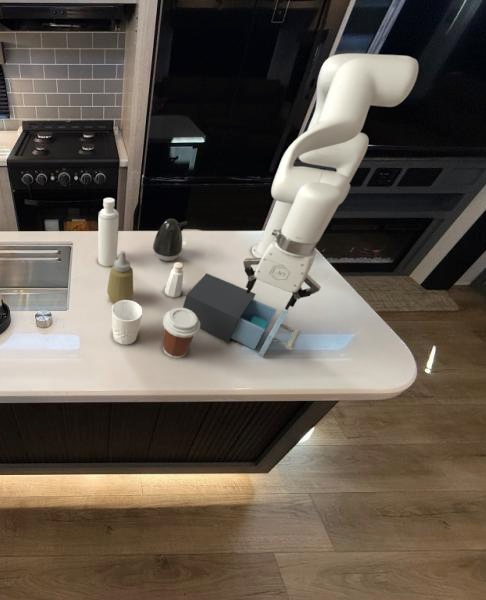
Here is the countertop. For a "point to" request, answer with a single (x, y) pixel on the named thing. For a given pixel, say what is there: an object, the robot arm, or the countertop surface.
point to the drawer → (253, 333)
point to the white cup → (126, 321)
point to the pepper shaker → (175, 281)
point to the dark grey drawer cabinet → (217, 305)
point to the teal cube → (259, 322)
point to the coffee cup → (179, 331)
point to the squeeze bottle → (120, 280)
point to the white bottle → (108, 233)
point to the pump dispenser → (168, 240)
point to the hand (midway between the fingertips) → (267, 298)
